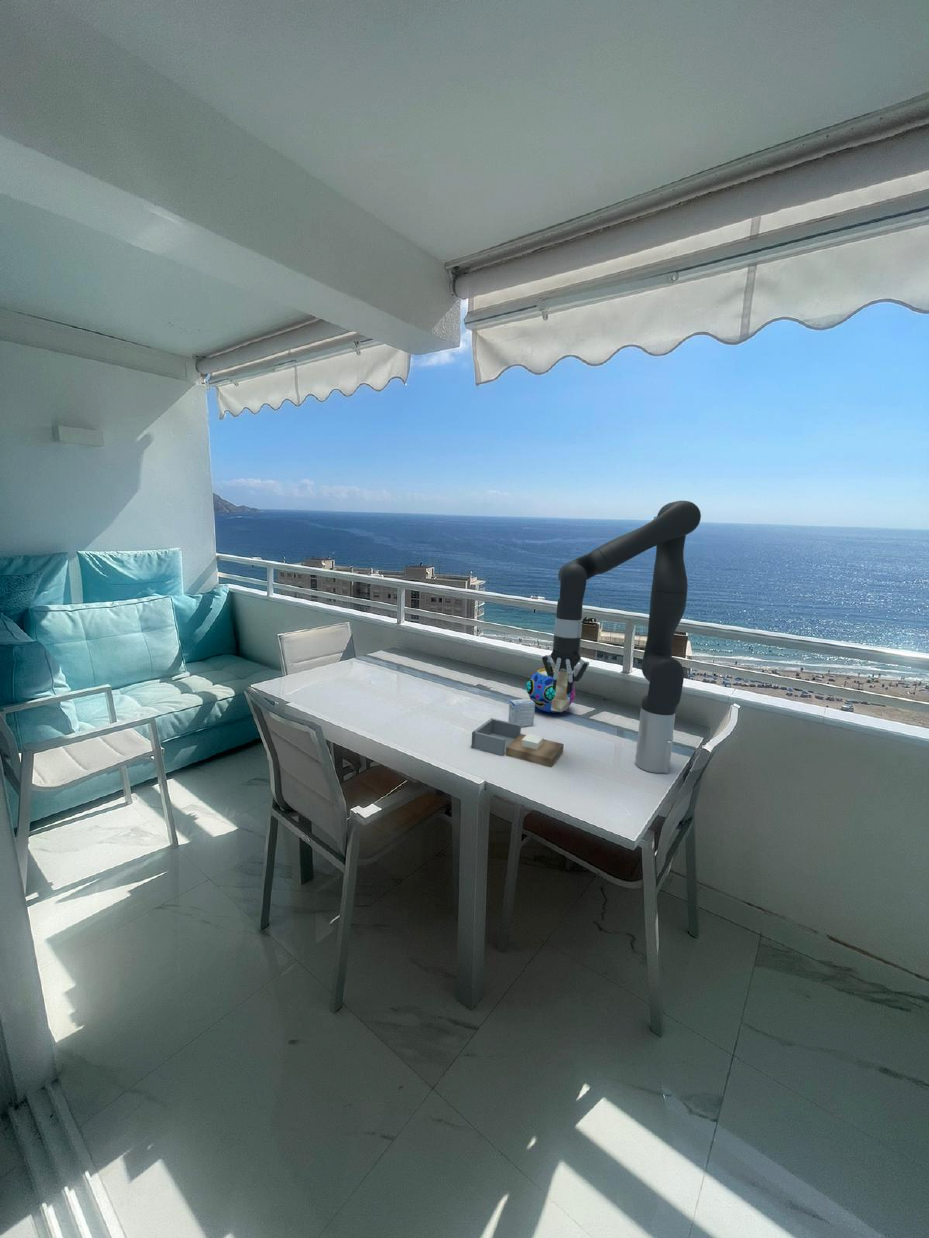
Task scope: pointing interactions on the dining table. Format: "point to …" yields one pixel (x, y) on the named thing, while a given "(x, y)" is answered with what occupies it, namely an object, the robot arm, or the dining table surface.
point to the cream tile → (532, 741)
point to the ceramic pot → (543, 690)
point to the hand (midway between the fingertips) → (562, 692)
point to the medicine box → (521, 712)
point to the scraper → (561, 693)
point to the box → (495, 736)
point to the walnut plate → (535, 751)
